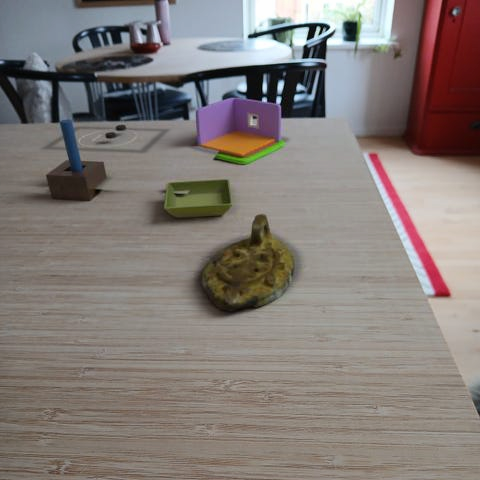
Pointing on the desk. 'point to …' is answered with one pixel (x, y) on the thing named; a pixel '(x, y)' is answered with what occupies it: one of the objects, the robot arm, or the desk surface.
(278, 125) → the miniature room corner
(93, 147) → the ring
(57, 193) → the stand
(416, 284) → the desk surface
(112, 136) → the dot
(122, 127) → the dot
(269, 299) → the seal
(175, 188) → the green rectangular tray
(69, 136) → the blue rod
